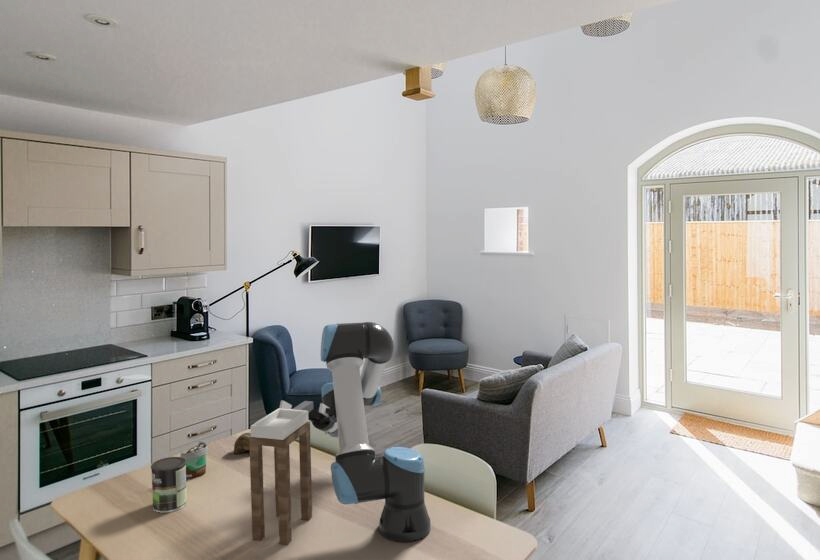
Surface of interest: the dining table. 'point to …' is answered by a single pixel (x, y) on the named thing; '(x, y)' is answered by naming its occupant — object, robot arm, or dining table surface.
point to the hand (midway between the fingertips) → (300, 406)
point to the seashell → (242, 443)
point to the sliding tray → (282, 422)
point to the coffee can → (169, 484)
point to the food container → (195, 460)
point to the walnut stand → (280, 482)
